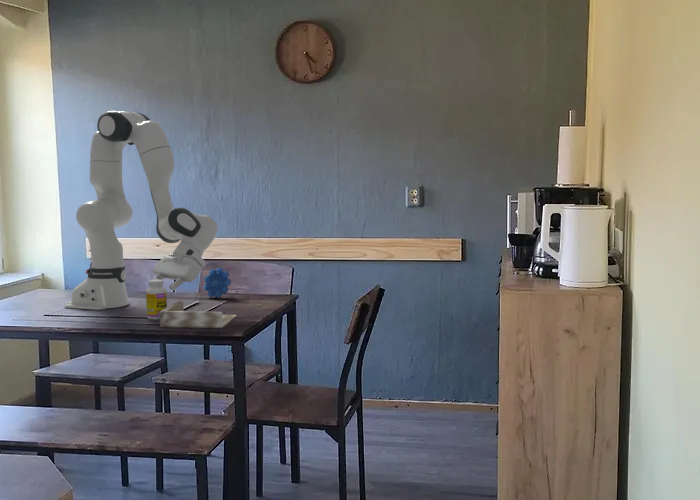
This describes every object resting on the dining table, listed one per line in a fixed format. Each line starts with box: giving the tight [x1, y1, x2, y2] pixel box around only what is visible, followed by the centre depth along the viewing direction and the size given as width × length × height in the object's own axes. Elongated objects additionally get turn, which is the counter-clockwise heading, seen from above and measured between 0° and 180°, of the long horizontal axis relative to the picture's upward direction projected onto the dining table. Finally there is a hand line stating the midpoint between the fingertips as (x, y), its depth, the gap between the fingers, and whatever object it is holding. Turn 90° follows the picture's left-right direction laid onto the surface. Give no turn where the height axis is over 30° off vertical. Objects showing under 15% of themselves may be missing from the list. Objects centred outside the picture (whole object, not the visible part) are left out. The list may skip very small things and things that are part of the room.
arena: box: [159, 300, 237, 329], centre depth 238 cm, size 20×18×5 cm
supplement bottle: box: [145, 278, 168, 321], centre depth 243 cm, size 7×7×13 cm
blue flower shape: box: [203, 267, 232, 299], centre depth 280 cm, size 12×7×12 cm, turn 72°
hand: (163, 287), depth 245 cm, fingers open, 8 cm apart
